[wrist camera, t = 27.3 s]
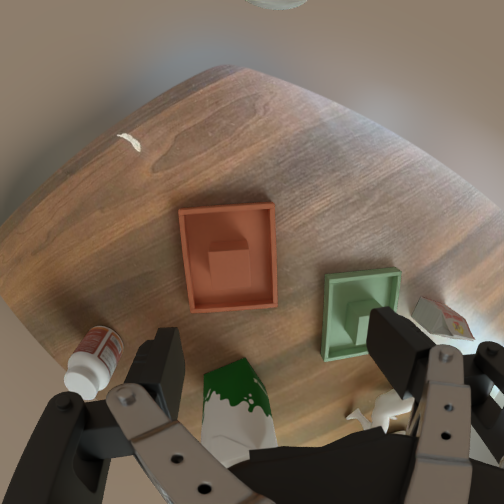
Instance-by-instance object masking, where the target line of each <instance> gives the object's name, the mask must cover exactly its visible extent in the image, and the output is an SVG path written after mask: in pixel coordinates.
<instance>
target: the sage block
mask: <svg viewBox="0 0 504 504" xmlns="http://www.w3.org/2000/svg"><path fill="white" fill-rule="evenodd" d="M379 307H383V306H382V305H380V304H379V303H378V302H377V301H376V300H375V299H370V300H363V301H356V302H349V303H347V310H346V321H345V331H346V332H347V334H348V335H349V337H350V338H351V340H352V341H353V342H354V344H355V345H361V344H366V338H367V331H368V324H369V316H370V311H371V310H372V309H373V308H379Z"/></svg>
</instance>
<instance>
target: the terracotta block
mask: <svg viewBox="0 0 504 504" xmlns="http://www.w3.org/2000/svg"><path fill="white" fill-rule="evenodd" d="M208 258H209V268H210V278H211V287H212V290H220V289H235V288H248V287H251V269H250V252H249V246H248V243H247V240H236V241H222V242H211V243H210V246H209V250H208Z"/></svg>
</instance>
